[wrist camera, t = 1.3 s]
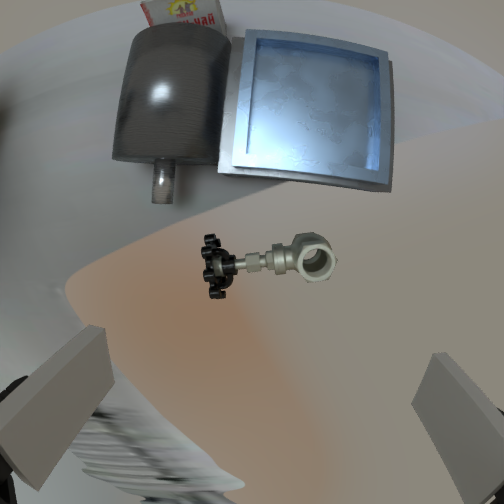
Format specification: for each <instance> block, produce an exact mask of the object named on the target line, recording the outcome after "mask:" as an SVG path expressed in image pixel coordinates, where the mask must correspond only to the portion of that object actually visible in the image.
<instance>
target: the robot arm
mask: <svg viewBox="0 0 504 504" xmlns="http://www.w3.org/2000/svg"><path fill="white" fill-rule="evenodd" d="M114 383H115V381H114V376H113V371H112V366H111V361H110V356H109V351H108V346H107V339H106V332H105V328H101V327H96V326H93V325H89V326H87V327H86V328H85V329H84V330H83V331H81V332H80V333H79V334H78V335H77V336H75V337H74V338H73V339H72V340H71V341H69V342H68V343H67V344H66V345H65V346H63V347H62V348H61V349H60V350H59V351H58V352H56V353H55V354H54V355H53V356H52V357H51V358H49V359H48V360H47V361H46V362H45V363H44V364H43V365H41V366H40V367H39V368H38V369H37V370H36V371H35V372H34V373H32V374H31V375H30V376H27V375H26V376H24V377H21V378H19V379H17V380H15V381H14V382H12V383H11V384H10V385H9V386H8V387H7V388H6V390H3V391H2V392H1V393H0V504H17V500H16V494H15V488H14V482H13V478H12V476H11V475H10V474H11V472H12V471H14V472H15V473H16V474H17V475H18V477H19V478H20V479H21V480H22V481H23V482H25V483H26V484H27V485H29V486H31V487H32V488H33V489H35V490H37V491H39V490H40V488H41V487H42V485H43V484H44V482H45V481H46V479H47V478H48V476H49V475H50V473H51V472H52V470H53V469H54V467H55V466H56V465H57V463H58V461H59V460H60V459H61V457H62V456H63V454H64V453H65V451H66V450H67V449H68V447H69V446H70V444H71V443H72V441H73V440H74V439H75V437H76V436H77V434H78V433H79V432H80V430H81V429H82V427H83V426H84V424H85V423H86V422H87V420H88V419H89V418H90V416H91V415H92V413H93V412H94V411H95V409H96V408H97V406H98V405H99V404H100V402H101V401H102V400H103V398H104V397H105V396H106V394H107V393H108V391H109V390H110V389H111V387H112V386H113V385H114ZM411 404H412V406H413V408H414V410H415V411H416V413H417V415H418V416H419V418H420V420H421V422H422V423H423V425H424V427H425V429H426V431H427V432H428V434H429V435H430V437H431V440H432V441H433V443H434V445H435V447H436V449H437V451H438V452H439V454H440V456H441V458H442V460H443V462H444V464H445V465H446V467H447V469H448V471H449V473H450V475H451V477H452V479H453V481H454V483H455V485H456V487H457V489H458V491H459V493H460V496H461V497H462V500H463V502H464V504H485V503H486V502H487V501H488V500H489V499H490V498H491V497H492V496H493V495H495V497H496V498H495V499H494V500H493V501H492V502H491V503H490V504H504V412H503V411H501V410H500V409H498V408H497V407H496V406H495V405H494V404H493V403H492V402H491V401H490V399H489V398H488V397H487V396H486V395H485V394H484V393H483V392H482V390H481V389H480V388H479V387H478V386H477V385H476V384H475V383H474V382H473V380H472V379H471V378H470V377H469V376H468V375H467V374H466V373H465V372H464V371H463V370H462V369H461V368H460V366H458V364H457V363H456V362H455V361H454V360H453V359H452V358H451V357H450V356H449V355H448V354H447V353H445V352H444V353H434V354H433V355H432V357H431V360H430V363H429V365H428V367H427V370H426V372H425V375H424V377H423V380H422V382H421V384H420V386H419V388H418V391H417V393H416V395H415V397H414V399H413V401H412V403H411Z"/></svg>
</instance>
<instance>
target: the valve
mask: <svg viewBox="0 0 504 504" xmlns="http://www.w3.org/2000/svg"><path fill="white" fill-rule="evenodd" d="M204 241H205V245H206V246H204V247H202V249H201V254H202V257H203V259H205V262H206V269H205V270H204V271H203V277H204V281H205V282H209V283H210V288H209V296H210V298H211V299H214V298H216V299H222V298H226V292H225V291H221V289H226V288H228V287H229V286H230V285H231V284H232V282H233V275H237V273H238V269H247V272H248V273H250V272H257V271H261V267H267V268H268V270H273V269H274V270H275V274H276V275H280V274H286V270H292V269H294V270H296V271H297V272H298V273H300V274H301V275H302V276H303V277H304V278H305V280H306V281H307V282H319V281H324V280H328V279H329V278H330V276H331V274H332V272H333V270H334V268H335V266H336V263H337V261H338V260H337V258H336V257H335V255H334V254H333V252H332V249H331V246H330V244H329V243H328V241H327V240H326V239H325V238H324V237H322V236H320V235H318V234H315V233H314V232H310V233H302V234H297V235H296V236H295V238H294V240H293V242H292V244H291V245H290V246H283V245H282V243H280V244H273V245H272V251H266V254H265V255H259V252H258V253H250V254H246V255H245V258H244V259H236V257H235V255H229V253H228V252H227V251H226V250H224V249H221V248H217V247H221V243H220V239H216V235H215V234H208V235H205V236H204ZM314 249H317V252H316V254H315V256H314V257H312V258H310V259H307V260H304V256H305V255H306V253H308V252H309V251H311V250H314ZM226 276H227V277H226Z"/></svg>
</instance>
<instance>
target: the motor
mask: <svg viewBox="0 0 504 504" xmlns="http://www.w3.org/2000/svg"><path fill="white" fill-rule="evenodd" d="M112 159H113V160H117V161H123V162H133V163H149V164H154V172H153V187H152V203H154V204H173V193H174V178H175V165H208V164H217V163H218V173H220V174H223V175H225V176H239V177H252V178H265V179H276V180H286V181H296V182H305V183H314V184H321V185H329V186H337V187H344V188H351V189H357V190H364V191H370V192H389V193H390V192H391V188H392V174H393V159H394V84H393V68H392V61H389V60H388V52H386V51H383V50H379V49H376V48H372V47H368V46H364V45H360V44H356V43H352V42H347V41H343V40H338V39H332V38H327V37H321V36H315V35H308V34H301V33H292V32H282V31H270V30H250V29H246V33H245V38H241V37H233V38H232V45H231V43H230V41H229V40H228V38H227V37H226V36H224V35H223V34H222V33H220V32H218V31H216V30H214V29H212V28H210V27H206V26H203V25H199V24H194V23H184V22H172V23H164V24H158V25H155V26H151V27H149V28H146V29H144V30H143V31H141V32H140V33H138V34H137V35H136V36H135V38H134V39H133V42H132V45H131V49H130V53H129V57H128V61H127V65H126V70H125V74H124V79H123V84H122V89H121V95H120V100H119V106H118V112H117V119H116V126H115V134H114V143H113V152H112Z"/></svg>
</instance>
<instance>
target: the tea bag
mask: <svg viewBox="0 0 504 504" xmlns="http://www.w3.org/2000/svg"><path fill="white" fill-rule="evenodd" d="M140 5H141V7H142V9H143V11H144V13H145V16H146V18H147V20H148V23H149V25H150V27H151V26H155V25H158V24H164V23H172V22H184V23H194V24H199V25H203V26H206V27H210V28H212V29H214V30H216V31H218V32H220V33H222V34H223V35H224V36H226V24H225V20H224V16H223V13H222V9H221V5H220V2H219V0H145V1H141V4H140Z"/></svg>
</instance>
